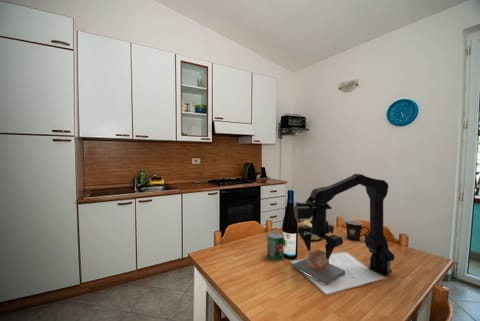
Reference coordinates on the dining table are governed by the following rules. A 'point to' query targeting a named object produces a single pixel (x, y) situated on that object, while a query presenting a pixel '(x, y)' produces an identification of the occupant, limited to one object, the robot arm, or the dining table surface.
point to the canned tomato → (275, 246)
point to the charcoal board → (322, 276)
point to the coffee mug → (354, 230)
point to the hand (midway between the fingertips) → (318, 254)
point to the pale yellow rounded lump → (311, 227)
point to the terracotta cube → (318, 260)
